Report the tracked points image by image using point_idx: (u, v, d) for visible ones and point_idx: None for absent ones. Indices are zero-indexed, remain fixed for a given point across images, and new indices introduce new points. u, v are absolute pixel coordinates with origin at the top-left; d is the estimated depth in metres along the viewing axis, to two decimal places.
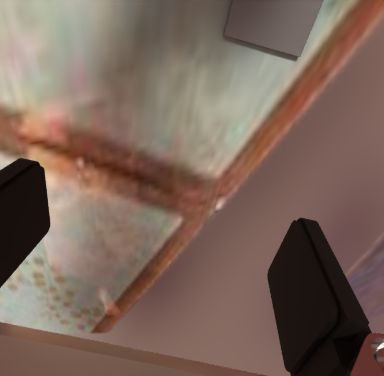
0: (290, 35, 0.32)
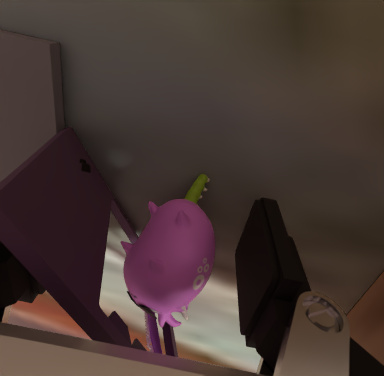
0: None
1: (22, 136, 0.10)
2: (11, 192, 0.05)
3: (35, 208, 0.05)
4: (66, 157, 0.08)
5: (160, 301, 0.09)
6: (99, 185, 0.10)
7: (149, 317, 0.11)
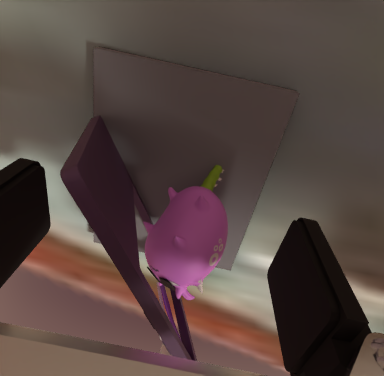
0: None
1: (240, 165, 0.12)
2: (82, 165, 0.06)
3: (96, 181, 0.06)
4: (103, 142, 0.09)
5: (181, 274, 0.10)
6: (123, 170, 0.11)
7: (163, 293, 0.12)
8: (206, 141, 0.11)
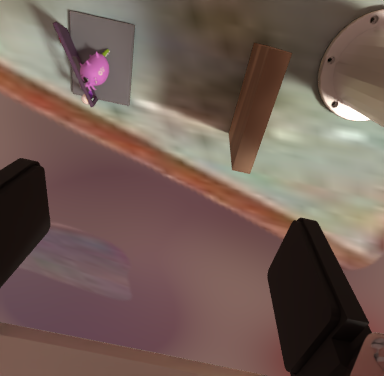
0: None
1: (121, 53, 0.34)
2: (57, 24, 0.28)
3: (60, 30, 0.29)
4: (65, 32, 0.32)
5: (88, 73, 0.32)
6: (74, 48, 0.34)
7: None
8: (108, 44, 0.34)
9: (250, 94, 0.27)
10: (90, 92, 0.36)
